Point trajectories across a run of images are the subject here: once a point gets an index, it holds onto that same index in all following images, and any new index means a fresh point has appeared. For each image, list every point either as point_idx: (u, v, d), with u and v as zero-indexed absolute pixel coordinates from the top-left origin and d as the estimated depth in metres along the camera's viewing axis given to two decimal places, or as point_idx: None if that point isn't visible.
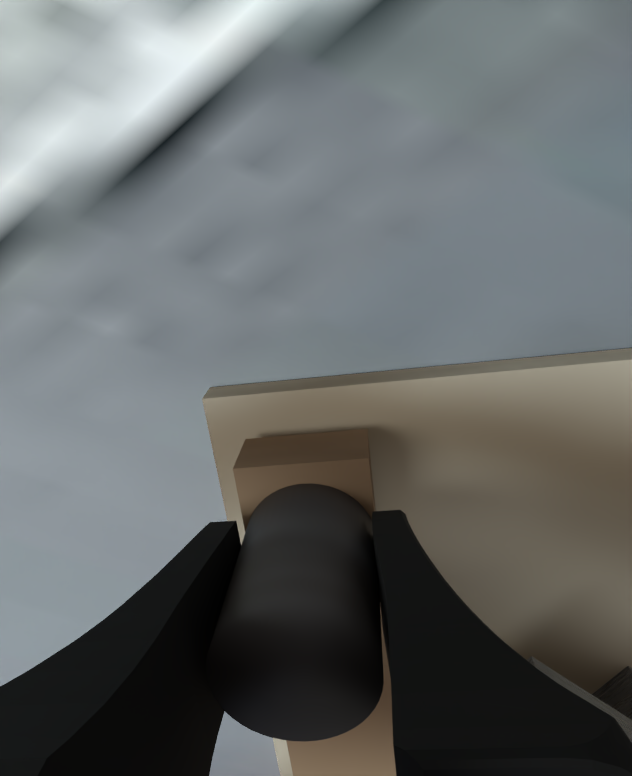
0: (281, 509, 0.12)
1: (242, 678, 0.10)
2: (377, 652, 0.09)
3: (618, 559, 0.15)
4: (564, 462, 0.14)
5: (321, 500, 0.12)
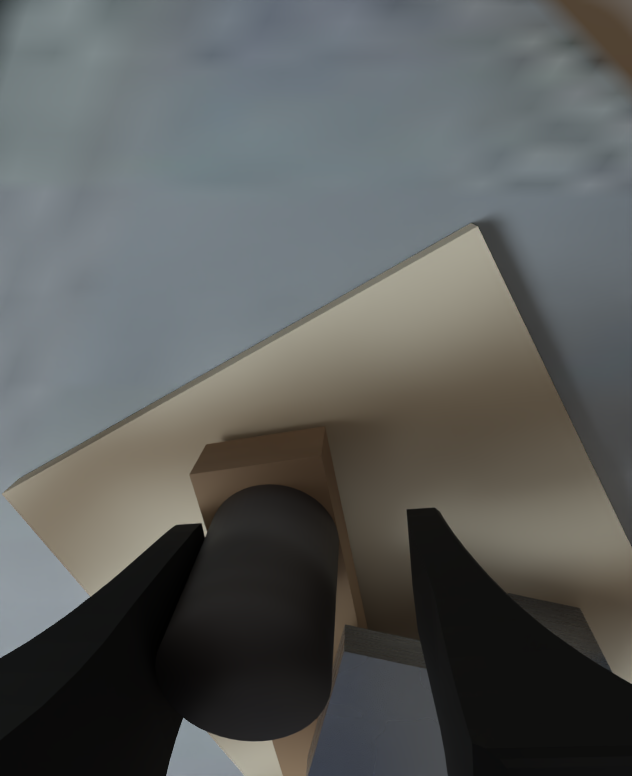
0: (235, 511, 0.12)
1: (193, 681, 0.10)
2: (321, 648, 0.09)
3: (432, 496, 0.15)
4: None
5: (275, 500, 0.12)
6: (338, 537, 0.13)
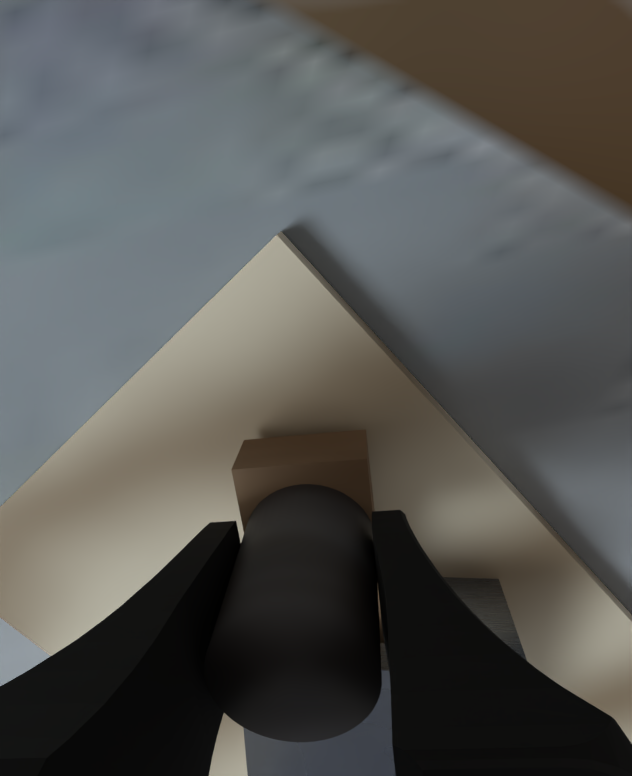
0: (279, 510, 0.12)
1: (240, 679, 0.10)
2: (375, 653, 0.09)
3: None
4: (199, 452, 0.15)
5: (319, 501, 0.12)
6: None
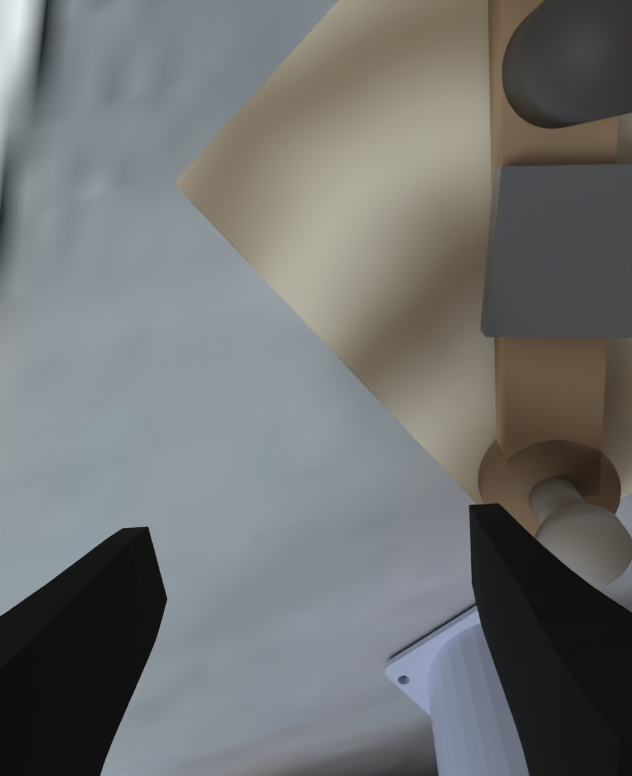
0: None
1: (579, 37, 0.11)
2: None
3: None
4: (438, 31, 0.16)
5: None
6: None
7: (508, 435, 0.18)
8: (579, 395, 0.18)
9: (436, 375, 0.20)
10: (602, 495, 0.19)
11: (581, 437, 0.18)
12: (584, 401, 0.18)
